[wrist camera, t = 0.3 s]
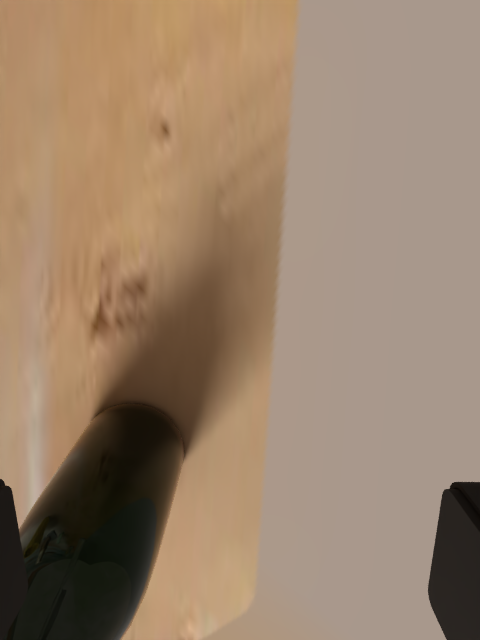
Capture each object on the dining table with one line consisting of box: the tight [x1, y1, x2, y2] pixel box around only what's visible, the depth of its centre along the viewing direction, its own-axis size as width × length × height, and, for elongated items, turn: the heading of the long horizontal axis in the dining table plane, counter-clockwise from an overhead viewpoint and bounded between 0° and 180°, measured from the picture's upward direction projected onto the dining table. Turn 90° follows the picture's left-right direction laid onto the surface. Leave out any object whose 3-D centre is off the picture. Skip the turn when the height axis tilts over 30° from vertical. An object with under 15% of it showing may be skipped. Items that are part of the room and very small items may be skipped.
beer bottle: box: [3, 404, 184, 640], centre depth 27 cm, size 10×10×33 cm
